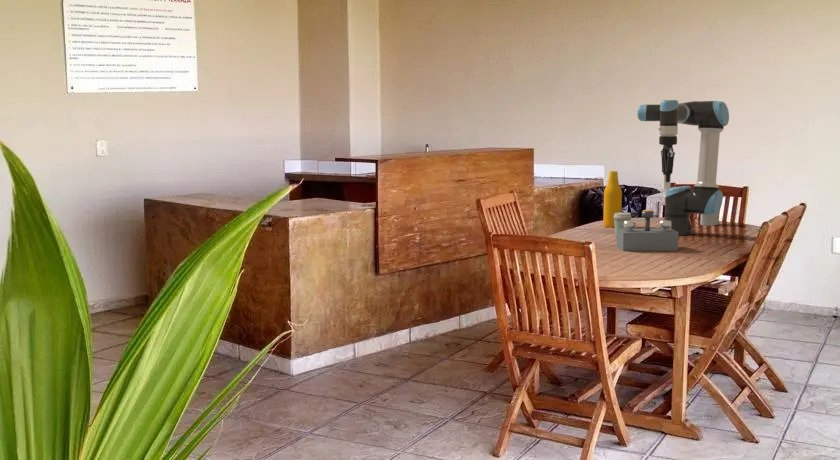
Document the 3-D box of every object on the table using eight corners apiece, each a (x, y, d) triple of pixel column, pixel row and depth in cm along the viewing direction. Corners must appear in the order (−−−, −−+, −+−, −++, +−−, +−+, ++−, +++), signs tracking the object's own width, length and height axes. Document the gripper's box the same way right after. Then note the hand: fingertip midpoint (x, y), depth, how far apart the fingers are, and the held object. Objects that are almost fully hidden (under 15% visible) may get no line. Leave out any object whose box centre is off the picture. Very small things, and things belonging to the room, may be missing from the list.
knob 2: (668, 245, 390) (669, 220, 388) (672, 247, 385) (672, 221, 383) (657, 245, 390) (658, 220, 388) (660, 247, 385) (661, 221, 383)
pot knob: (651, 235, 389) (652, 209, 387) (654, 236, 384) (655, 211, 383) (640, 235, 389) (640, 209, 387) (643, 237, 384) (643, 211, 383)
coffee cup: (631, 239, 412) (632, 214, 410) (613, 239, 414) (613, 214, 412) (630, 236, 420) (631, 212, 419) (612, 236, 422) (613, 212, 420)
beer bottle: (599, 226, 458) (600, 171, 454) (614, 224, 462) (615, 170, 458) (610, 228, 450) (611, 172, 446) (624, 227, 453) (626, 171, 449)
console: (669, 245, 393) (670, 228, 392) (677, 250, 382) (678, 232, 380) (616, 246, 393) (617, 228, 392) (623, 250, 381) (623, 232, 380)
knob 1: (633, 245, 390) (633, 220, 388) (635, 247, 385) (636, 222, 383) (622, 246, 390) (622, 220, 388) (624, 247, 385) (625, 222, 383)
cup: (720, 225, 454) (721, 203, 453) (703, 226, 454) (704, 203, 453) (715, 223, 463) (716, 201, 462) (698, 223, 463) (698, 201, 462)
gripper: (655, 135, 387) (654, 188, 390) (663, 136, 374) (662, 190, 377) (672, 134, 387) (670, 187, 390) (681, 136, 374) (679, 190, 377)
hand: (666, 189), depth 384 cm, fingers closed
